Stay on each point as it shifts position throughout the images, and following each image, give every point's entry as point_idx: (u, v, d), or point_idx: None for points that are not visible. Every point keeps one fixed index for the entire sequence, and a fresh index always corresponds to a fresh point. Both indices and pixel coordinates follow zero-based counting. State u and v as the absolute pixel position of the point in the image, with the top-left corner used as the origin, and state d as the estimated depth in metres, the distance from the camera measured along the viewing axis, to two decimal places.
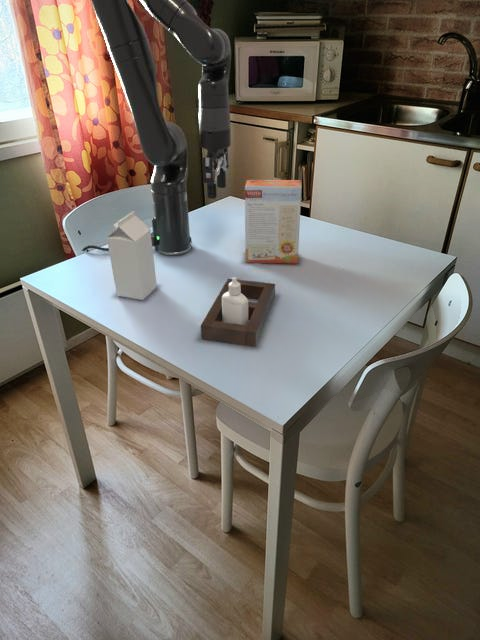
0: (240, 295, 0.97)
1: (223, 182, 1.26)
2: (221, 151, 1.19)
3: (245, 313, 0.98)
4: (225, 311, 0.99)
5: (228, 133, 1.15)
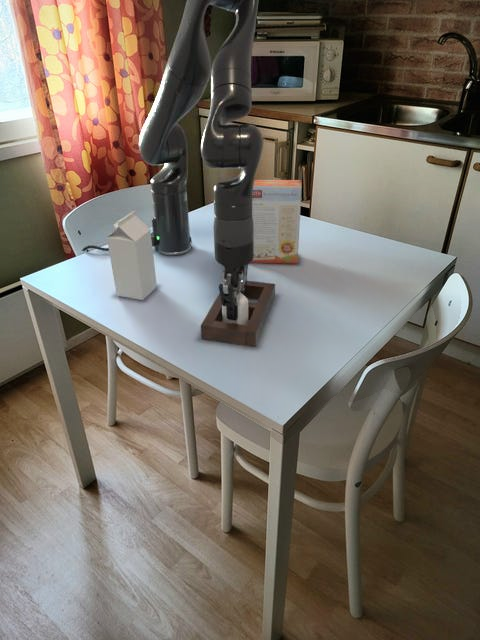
0: (240, 295, 0.97)
1: None
2: None
3: (245, 313, 0.98)
4: (225, 311, 0.99)
5: (251, 246, 0.90)
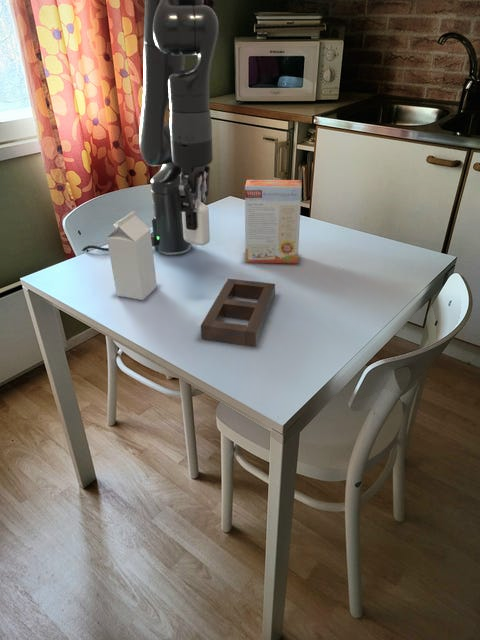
0: (200, 203, 0.94)
1: None
2: (200, 168, 0.92)
3: (205, 223, 0.95)
4: (185, 221, 0.96)
5: (209, 146, 0.87)
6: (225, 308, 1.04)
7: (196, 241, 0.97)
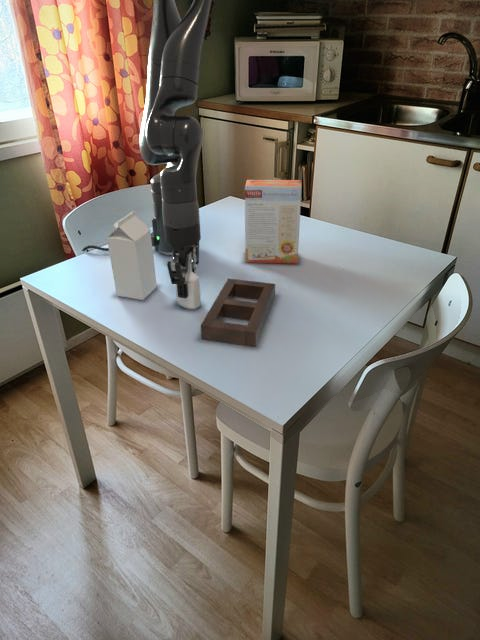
0: (191, 273, 1.05)
1: None
2: None
3: (196, 290, 1.06)
4: None
5: (197, 228, 0.99)
6: (225, 308, 1.04)
7: (188, 305, 1.08)
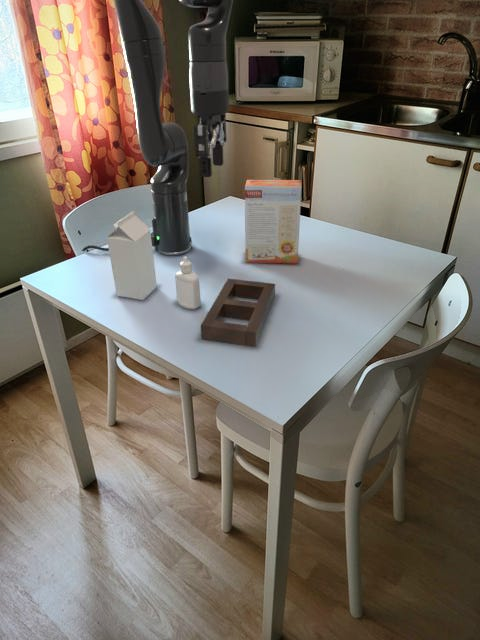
0: (191, 273, 1.05)
1: (220, 158, 1.05)
2: (217, 119, 0.98)
3: (196, 290, 1.06)
4: (178, 288, 1.07)
5: (226, 95, 0.93)
6: (225, 308, 1.04)
7: (188, 305, 1.08)
